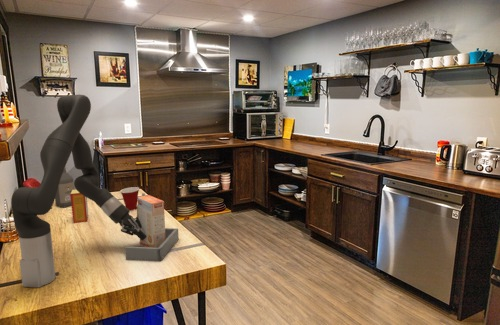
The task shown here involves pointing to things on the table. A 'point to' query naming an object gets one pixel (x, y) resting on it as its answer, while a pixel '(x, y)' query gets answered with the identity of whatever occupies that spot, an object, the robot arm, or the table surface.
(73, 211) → the baking soda box
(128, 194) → the plastic cup
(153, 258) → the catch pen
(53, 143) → the robot arm
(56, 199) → the liquor
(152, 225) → the cracker box
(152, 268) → the table surface
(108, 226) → the table surface
